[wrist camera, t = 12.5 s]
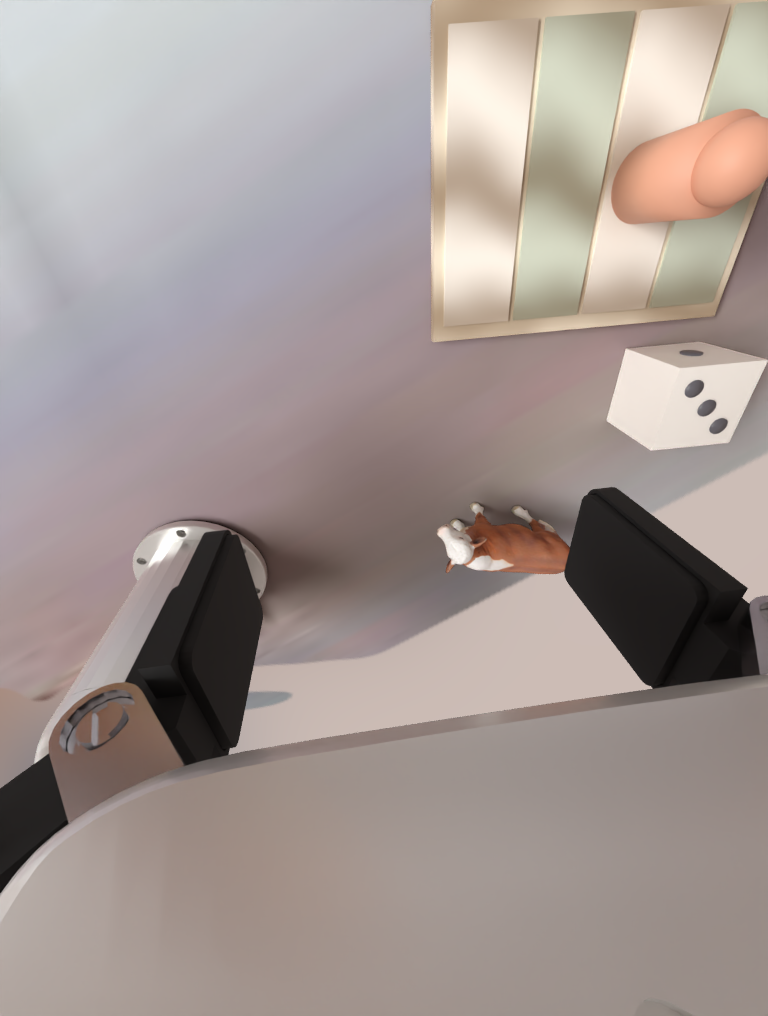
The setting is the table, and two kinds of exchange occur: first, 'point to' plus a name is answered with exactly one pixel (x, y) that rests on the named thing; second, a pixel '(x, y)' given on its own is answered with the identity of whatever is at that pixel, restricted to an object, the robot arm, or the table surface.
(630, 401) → the die
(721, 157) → the peach rounded cylinder
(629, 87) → the game board
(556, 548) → the bull figurine
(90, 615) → the table surface
